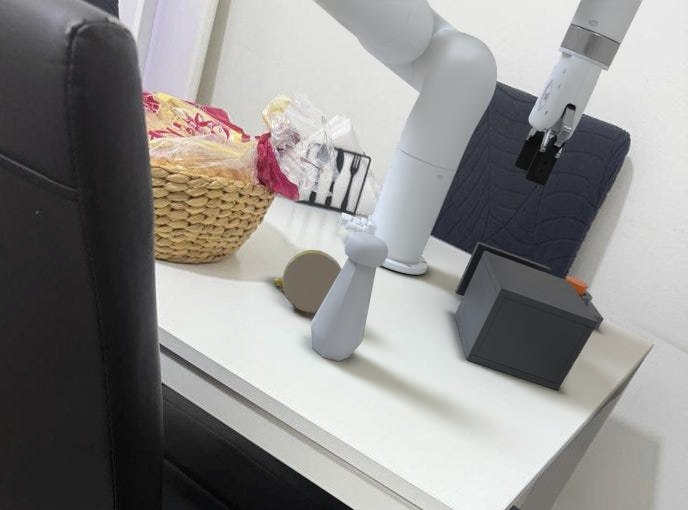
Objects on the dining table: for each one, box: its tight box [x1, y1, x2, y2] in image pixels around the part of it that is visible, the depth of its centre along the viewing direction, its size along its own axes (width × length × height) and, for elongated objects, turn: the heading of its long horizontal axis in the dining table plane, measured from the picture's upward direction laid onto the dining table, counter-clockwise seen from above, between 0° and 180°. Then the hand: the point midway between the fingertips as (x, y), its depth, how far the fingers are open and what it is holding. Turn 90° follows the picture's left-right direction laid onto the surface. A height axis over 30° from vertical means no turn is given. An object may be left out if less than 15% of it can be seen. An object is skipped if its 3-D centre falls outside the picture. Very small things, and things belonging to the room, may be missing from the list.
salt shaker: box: [310, 232, 388, 362], centre depth 74 cm, size 6×6×13 cm
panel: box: [578, 290, 604, 331], centre depth 121 cm, size 11×9×4 cm
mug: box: [273, 249, 342, 314], centre depth 85 cm, size 8×10×10 cm
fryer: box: [454, 251, 598, 391], centre depth 93 cm, size 15×13×10 cm
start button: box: [564, 275, 589, 296], centre depth 120 cm, size 4×4×2 cm
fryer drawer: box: [455, 241, 552, 297], centre depth 102 cm, size 18×12×8 cm, turn 177°
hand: (528, 175), depth 108 cm, fingers open, 8 cm apart
